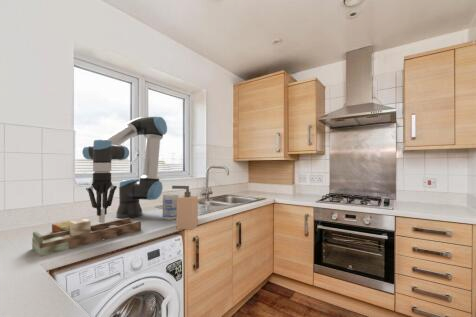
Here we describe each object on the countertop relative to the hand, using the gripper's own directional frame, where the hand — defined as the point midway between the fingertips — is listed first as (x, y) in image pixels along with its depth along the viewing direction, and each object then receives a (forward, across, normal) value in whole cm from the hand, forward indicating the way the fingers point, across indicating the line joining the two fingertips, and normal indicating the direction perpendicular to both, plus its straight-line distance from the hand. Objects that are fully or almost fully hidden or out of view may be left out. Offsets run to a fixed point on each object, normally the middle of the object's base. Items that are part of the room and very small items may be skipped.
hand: (101, 222), depth 109 cm
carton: (+7, +8, -19) cm, 22 cm away
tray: (+7, +4, 0) cm, 8 cm away
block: (+4, +9, 0) cm, 9 cm away
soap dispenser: (+7, -33, +19) cm, 39 cm away
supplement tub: (+6, -40, -2) cm, 41 cm away
